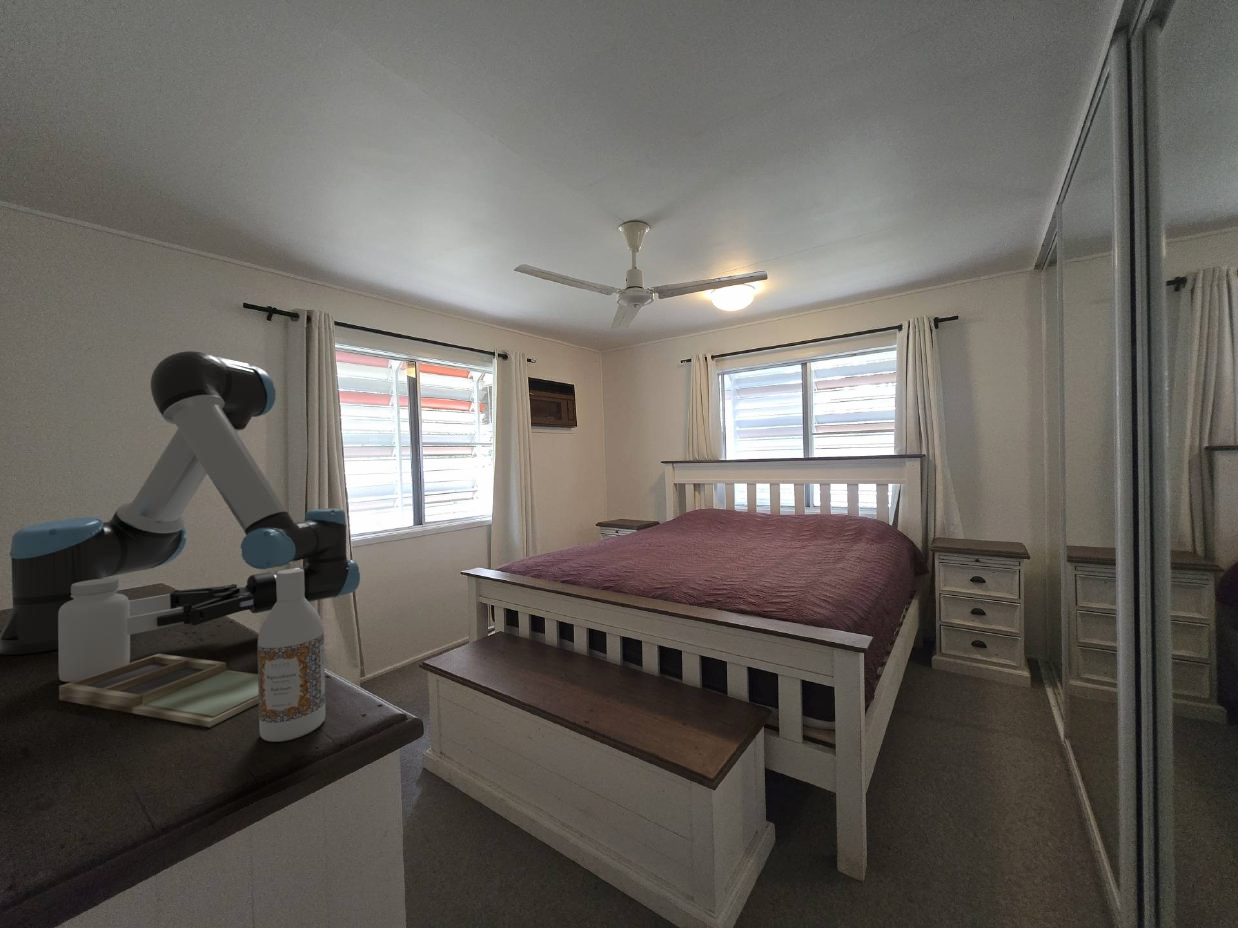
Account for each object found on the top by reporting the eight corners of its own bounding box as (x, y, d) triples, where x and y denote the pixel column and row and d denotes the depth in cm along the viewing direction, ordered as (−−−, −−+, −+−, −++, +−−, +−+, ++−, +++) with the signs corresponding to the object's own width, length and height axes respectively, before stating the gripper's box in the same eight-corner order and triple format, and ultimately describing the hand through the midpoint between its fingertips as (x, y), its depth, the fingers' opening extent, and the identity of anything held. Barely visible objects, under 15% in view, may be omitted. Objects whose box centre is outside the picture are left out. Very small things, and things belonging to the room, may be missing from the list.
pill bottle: (140, 666, 81) (138, 578, 81) (70, 687, 73) (68, 589, 73) (118, 659, 84) (116, 574, 84) (49, 678, 77) (47, 585, 77)
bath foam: (247, 747, 57) (244, 579, 56) (275, 717, 63) (272, 567, 63) (313, 739, 58) (309, 575, 58) (333, 710, 65) (330, 563, 65)
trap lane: (59, 699, 69) (59, 685, 69) (158, 665, 81) (158, 653, 81) (209, 727, 61) (209, 711, 61) (295, 684, 73) (295, 671, 73)
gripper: (294, 621, 89) (131, 658, 72) (257, 598, 105) (117, 624, 89) (293, 580, 89) (130, 609, 72) (257, 564, 105) (117, 584, 89)
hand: (123, 617), depth 81 cm, fingers open, 13 cm apart
